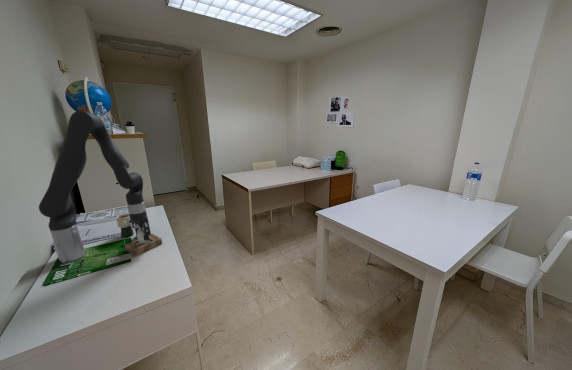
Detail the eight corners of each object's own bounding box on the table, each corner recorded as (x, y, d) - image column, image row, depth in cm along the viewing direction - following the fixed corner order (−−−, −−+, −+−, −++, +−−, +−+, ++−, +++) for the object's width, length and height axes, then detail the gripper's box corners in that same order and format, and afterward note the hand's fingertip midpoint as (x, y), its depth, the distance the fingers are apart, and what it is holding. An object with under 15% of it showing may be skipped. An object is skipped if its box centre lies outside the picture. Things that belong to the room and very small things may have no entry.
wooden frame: (135, 256, 108) (134, 250, 108) (126, 250, 113) (124, 245, 112) (162, 243, 120) (161, 238, 119) (152, 238, 125) (152, 233, 124)
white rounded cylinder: (141, 246, 113) (138, 232, 111) (137, 244, 115) (134, 230, 113) (150, 242, 117) (148, 228, 114) (146, 240, 119) (143, 226, 117)
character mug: (135, 237, 126) (131, 217, 123) (120, 241, 122) (115, 220, 119) (134, 230, 135) (130, 211, 131) (120, 233, 130) (115, 214, 127)
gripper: (122, 210, 111) (128, 237, 116) (136, 216, 104) (142, 244, 108) (138, 205, 117) (143, 231, 122) (151, 211, 110) (157, 238, 115)
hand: (142, 237), depth 115 cm, fingers open, 8 cm apart
